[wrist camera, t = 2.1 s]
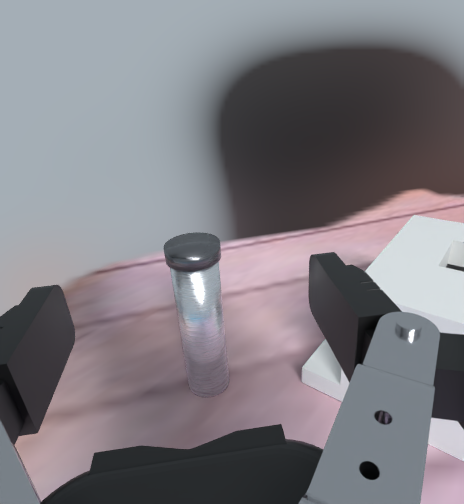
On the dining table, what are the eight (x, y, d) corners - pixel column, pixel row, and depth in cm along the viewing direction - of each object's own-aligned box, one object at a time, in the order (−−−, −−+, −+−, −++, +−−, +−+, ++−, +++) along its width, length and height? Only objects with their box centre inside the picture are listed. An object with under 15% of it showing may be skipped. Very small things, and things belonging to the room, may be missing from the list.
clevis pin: (176, 385, 29) (151, 248, 23) (207, 358, 31) (191, 228, 26) (211, 407, 27) (192, 262, 21) (240, 376, 29) (231, 239, 24)
